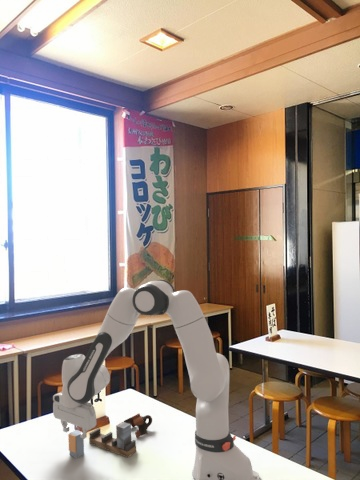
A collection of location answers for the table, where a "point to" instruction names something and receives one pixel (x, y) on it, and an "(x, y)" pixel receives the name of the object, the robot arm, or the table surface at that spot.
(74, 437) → the multicoloured piece
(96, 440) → the rail
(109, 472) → the table surface
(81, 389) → the robot arm
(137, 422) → the pottery mug
